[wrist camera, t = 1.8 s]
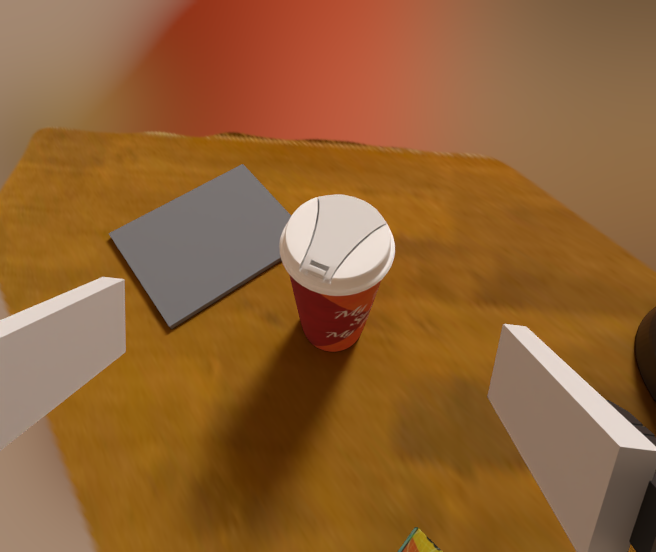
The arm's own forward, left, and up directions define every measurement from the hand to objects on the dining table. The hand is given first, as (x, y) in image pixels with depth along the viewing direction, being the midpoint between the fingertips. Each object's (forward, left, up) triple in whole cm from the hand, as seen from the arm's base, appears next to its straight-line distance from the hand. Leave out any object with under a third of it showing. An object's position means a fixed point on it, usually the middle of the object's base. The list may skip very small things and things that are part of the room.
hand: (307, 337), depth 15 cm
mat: (-4, -22, -22) cm, 32 cm away
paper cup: (-8, -7, -23) cm, 25 cm away
